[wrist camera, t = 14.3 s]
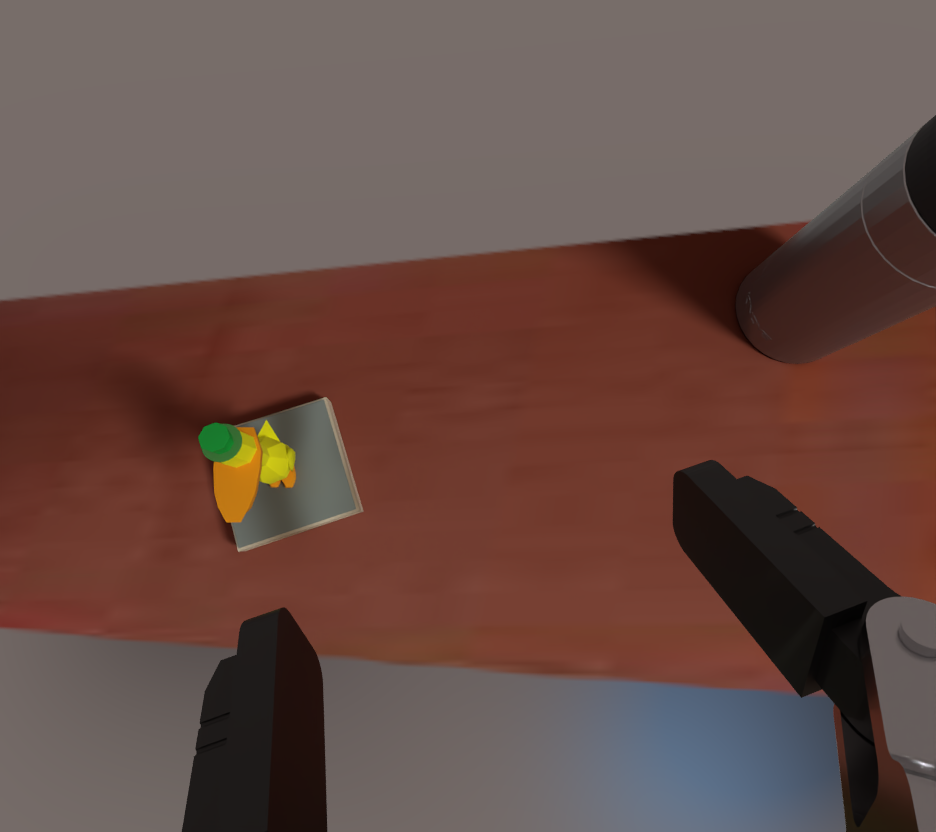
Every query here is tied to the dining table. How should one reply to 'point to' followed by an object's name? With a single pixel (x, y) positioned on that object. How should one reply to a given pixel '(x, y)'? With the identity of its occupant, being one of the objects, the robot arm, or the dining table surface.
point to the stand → (301, 478)
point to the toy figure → (245, 465)
